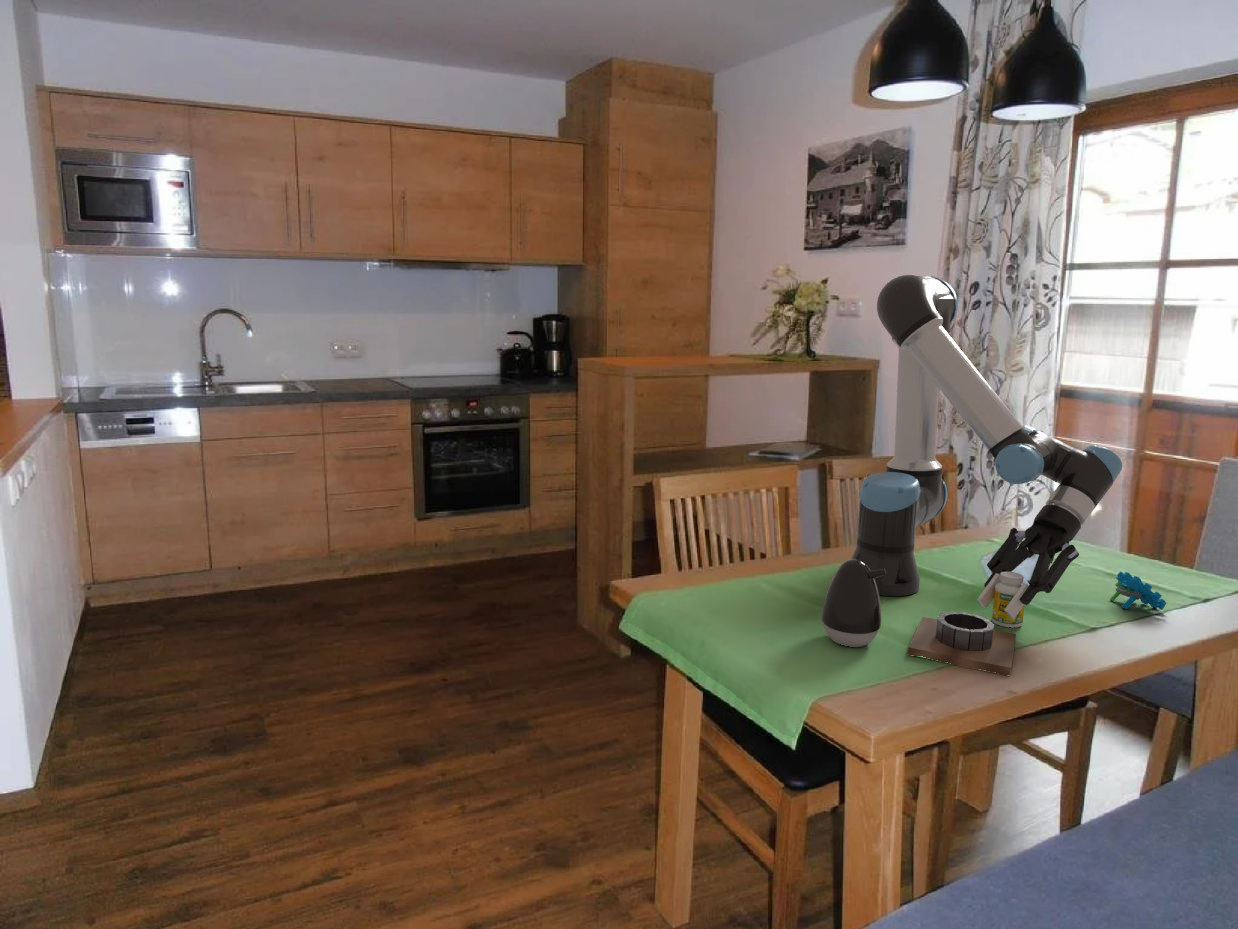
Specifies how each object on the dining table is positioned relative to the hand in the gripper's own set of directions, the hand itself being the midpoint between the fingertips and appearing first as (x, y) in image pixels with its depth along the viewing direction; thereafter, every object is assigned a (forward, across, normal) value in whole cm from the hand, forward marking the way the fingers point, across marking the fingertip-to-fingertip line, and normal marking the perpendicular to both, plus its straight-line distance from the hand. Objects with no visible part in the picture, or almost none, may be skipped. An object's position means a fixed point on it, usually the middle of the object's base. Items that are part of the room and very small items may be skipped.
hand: (995, 609), depth 157 cm
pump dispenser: (+24, +6, +18) cm, 31 cm away
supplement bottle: (0, 0, -5) cm, 5 cm away
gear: (-22, -5, -27) cm, 36 cm away
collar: (+11, -5, +8) cm, 15 cm away
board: (+12, -5, +7) cm, 15 cm away
